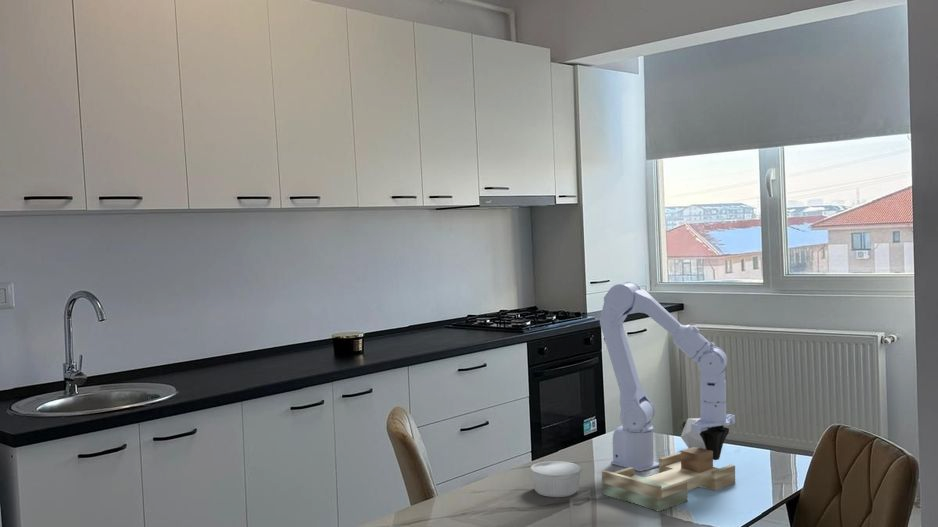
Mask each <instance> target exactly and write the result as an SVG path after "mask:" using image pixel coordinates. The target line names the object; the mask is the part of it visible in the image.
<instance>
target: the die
mask: <svg viewBox="0 0 938 527" xmlns="http://www.w3.org/2000/svg"><path fill="white" fill-rule="evenodd" d="M700 418H701V417H695V418H694V417H693V418H689V417H688V418H687V419H686V422H685V424H684V427H683V429H682V432H681V435H680V438H681V439H682V441H683V442H684V444H685V445H686V446H687V449H688V448H692V447H698V448H702V449H706V447H705V444H704V442H703V439H702V437H701V436H700V434H697V433H692V432H691V424H693V423H695V422H696V421H697V420H699V419H700Z"/></svg>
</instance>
